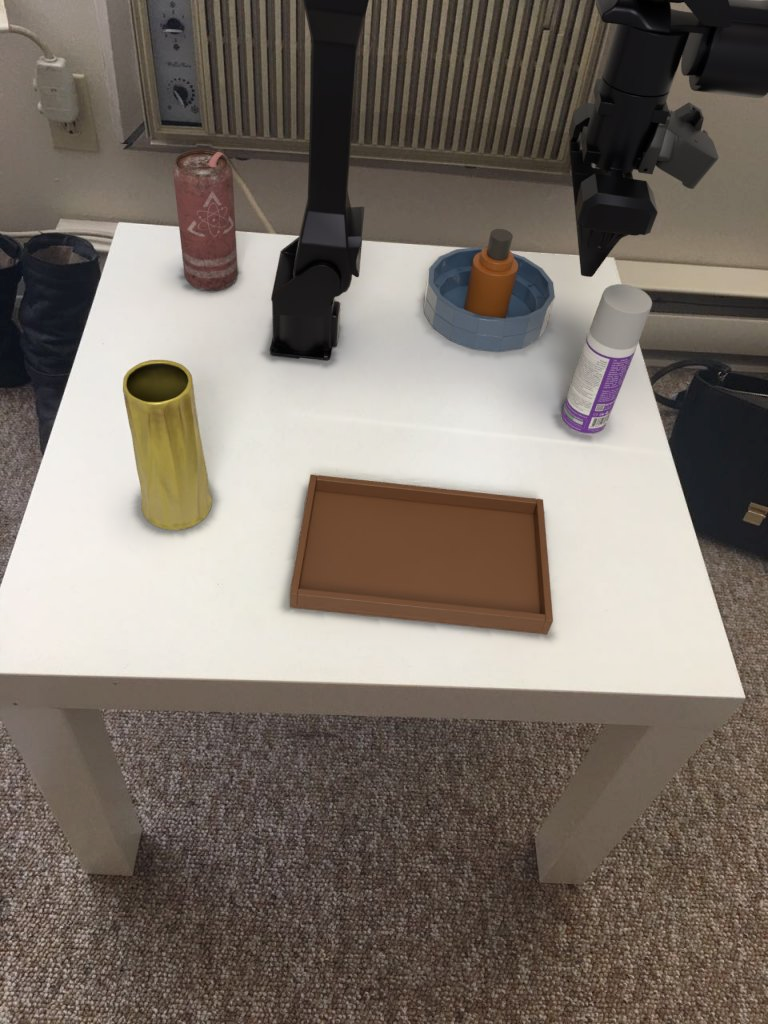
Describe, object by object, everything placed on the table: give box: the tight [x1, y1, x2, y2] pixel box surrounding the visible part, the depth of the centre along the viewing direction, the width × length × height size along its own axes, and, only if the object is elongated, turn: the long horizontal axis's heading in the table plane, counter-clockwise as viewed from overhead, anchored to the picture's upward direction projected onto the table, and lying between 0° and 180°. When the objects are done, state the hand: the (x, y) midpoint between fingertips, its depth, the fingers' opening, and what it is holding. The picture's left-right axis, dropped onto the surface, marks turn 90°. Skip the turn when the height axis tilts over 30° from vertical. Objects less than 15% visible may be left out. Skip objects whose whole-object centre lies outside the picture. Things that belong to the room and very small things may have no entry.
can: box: [172, 149, 239, 292], centre depth 91 cm, size 6×6×14 cm
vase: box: [122, 359, 213, 531], centre depth 68 cm, size 6×6×14 cm
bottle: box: [464, 228, 518, 318], centre depth 91 cm, size 5×5×10 cm
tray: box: [289, 474, 554, 635], centre depth 71 cm, size 21×13×2 cm, turn 86°
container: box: [560, 283, 653, 436], centre depth 79 cm, size 5×5×15 cm
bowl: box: [423, 246, 556, 353], centre depth 94 cm, size 14×14×4 cm
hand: (583, 249), depth 80 cm, fingers open, 9 cm apart
